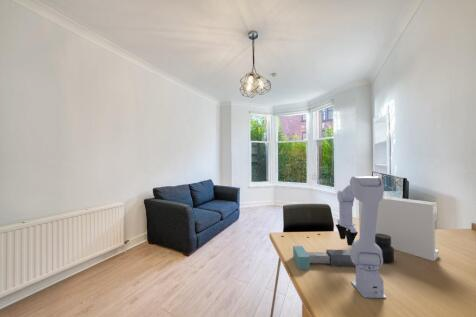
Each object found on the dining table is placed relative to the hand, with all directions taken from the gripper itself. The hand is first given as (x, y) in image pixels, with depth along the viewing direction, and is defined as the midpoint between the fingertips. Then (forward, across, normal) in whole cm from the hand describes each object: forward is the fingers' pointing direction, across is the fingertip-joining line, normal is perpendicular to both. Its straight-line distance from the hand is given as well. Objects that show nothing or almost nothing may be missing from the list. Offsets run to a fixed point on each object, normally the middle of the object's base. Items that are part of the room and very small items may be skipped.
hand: (346, 242), depth 99 cm
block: (+10, +18, -36) cm, 41 cm away
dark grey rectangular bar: (+9, -3, +3) cm, 10 cm away
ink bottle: (+10, +2, -19) cm, 21 cm away
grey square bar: (+8, -3, +15) cm, 17 cm away
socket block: (+9, -3, +23) cm, 25 cm away
